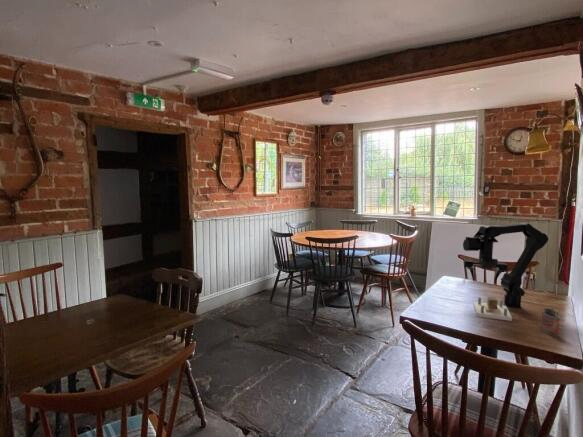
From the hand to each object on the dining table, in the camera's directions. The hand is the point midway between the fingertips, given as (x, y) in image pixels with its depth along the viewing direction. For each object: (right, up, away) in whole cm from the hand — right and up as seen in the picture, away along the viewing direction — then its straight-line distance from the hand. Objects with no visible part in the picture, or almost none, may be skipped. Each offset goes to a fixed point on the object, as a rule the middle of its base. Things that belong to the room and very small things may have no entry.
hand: (483, 281), depth 175 cm
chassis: (-1, -13, -8) cm, 15 cm away
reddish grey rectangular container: (+11, -16, -29) cm, 35 cm away
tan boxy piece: (-1, -12, -8) cm, 14 cm away
